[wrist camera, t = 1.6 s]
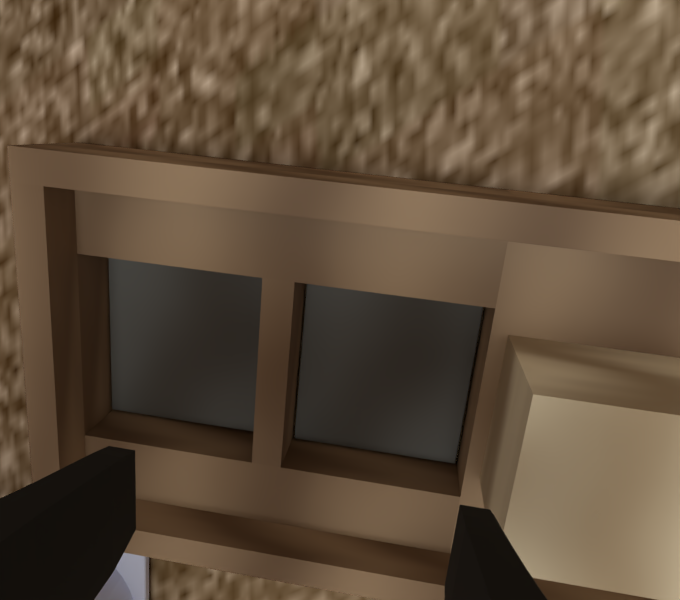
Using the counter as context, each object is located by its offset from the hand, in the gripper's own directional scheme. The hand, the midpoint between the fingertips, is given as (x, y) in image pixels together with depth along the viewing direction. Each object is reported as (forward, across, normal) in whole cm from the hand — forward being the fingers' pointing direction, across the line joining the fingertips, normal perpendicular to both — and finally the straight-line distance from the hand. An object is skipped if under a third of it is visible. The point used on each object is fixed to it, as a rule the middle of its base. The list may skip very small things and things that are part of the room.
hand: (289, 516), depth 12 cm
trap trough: (+8, -4, 0) cm, 10 cm away
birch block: (+6, -8, 0) cm, 10 cm away
